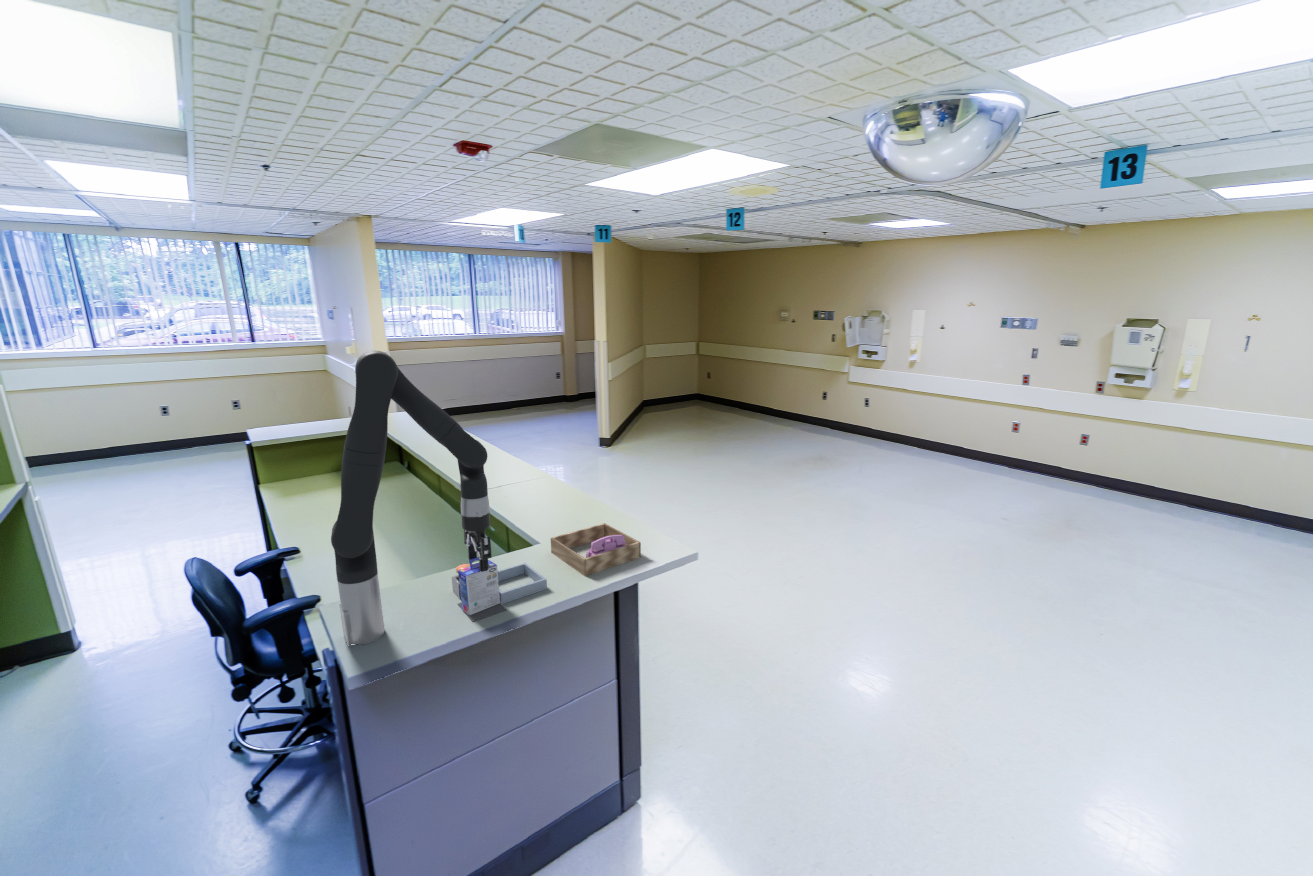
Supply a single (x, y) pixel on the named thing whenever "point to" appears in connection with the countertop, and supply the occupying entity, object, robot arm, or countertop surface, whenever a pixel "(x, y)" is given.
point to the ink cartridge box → (478, 587)
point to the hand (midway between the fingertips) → (478, 565)
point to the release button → (462, 567)
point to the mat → (485, 612)
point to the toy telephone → (606, 544)
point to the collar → (525, 589)
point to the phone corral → (596, 562)
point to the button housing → (456, 586)
